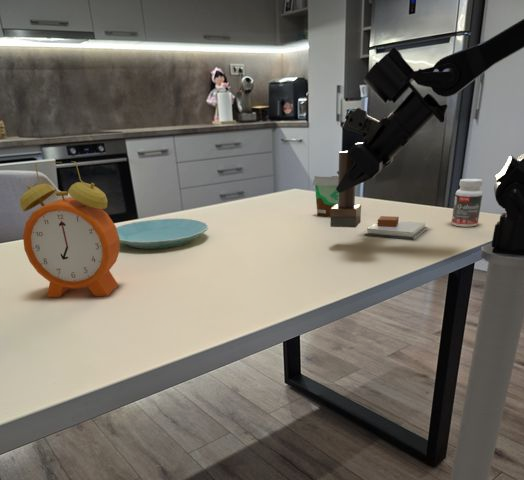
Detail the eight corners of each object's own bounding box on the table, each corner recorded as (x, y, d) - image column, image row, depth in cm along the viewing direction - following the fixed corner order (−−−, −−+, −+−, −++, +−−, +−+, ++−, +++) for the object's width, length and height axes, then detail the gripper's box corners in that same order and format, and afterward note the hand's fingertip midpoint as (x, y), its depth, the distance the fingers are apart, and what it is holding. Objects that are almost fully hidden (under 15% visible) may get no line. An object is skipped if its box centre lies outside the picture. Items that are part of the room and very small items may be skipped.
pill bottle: (453, 227, 109) (459, 181, 105) (449, 222, 114) (454, 178, 110) (480, 227, 108) (487, 181, 104) (474, 222, 113) (481, 177, 109)
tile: (427, 229, 109) (428, 222, 108) (413, 240, 101) (414, 232, 100) (380, 225, 114) (381, 219, 114) (363, 235, 106) (364, 228, 105)
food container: (325, 219, 123) (326, 178, 118) (312, 215, 128) (312, 176, 123) (364, 213, 128) (366, 173, 123) (350, 210, 133) (351, 171, 128)
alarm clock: (35, 298, 77) (0, 166, 68) (52, 286, 83) (21, 162, 74) (116, 296, 76) (91, 162, 67) (127, 284, 82) (106, 158, 73)
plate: (226, 241, 106) (225, 228, 105) (128, 259, 96) (125, 245, 94) (185, 225, 123) (184, 214, 122) (99, 239, 113) (96, 227, 112)
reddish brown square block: (398, 223, 109) (398, 216, 108) (395, 227, 105) (396, 220, 105) (380, 222, 110) (380, 216, 109) (377, 226, 107) (377, 219, 106)
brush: (360, 222, 97) (363, 150, 91) (355, 227, 93) (358, 152, 87) (336, 221, 98) (337, 150, 92) (330, 226, 94) (331, 153, 88)
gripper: (380, 91, 92) (323, 154, 100) (361, 88, 76) (296, 164, 85) (419, 134, 92) (359, 193, 101) (408, 141, 77) (339, 210, 86)
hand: (339, 189), depth 93 cm, fingers closed on brush, 3 cm apart
